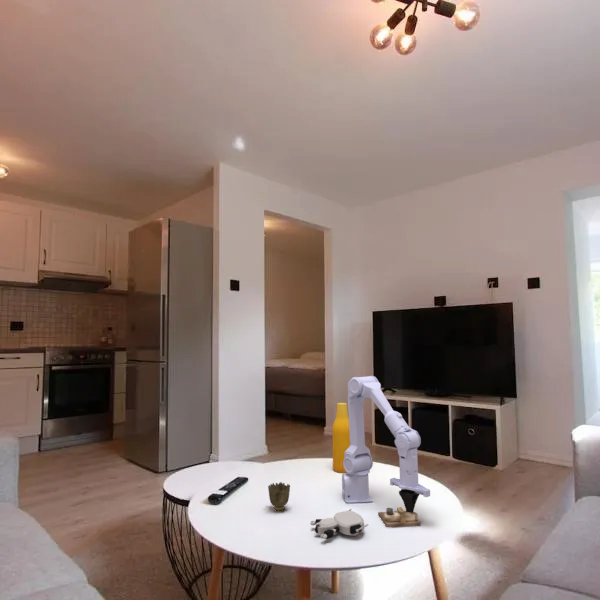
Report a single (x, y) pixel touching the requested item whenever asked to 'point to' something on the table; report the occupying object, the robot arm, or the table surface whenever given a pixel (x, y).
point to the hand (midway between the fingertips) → (410, 514)
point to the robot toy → (340, 524)
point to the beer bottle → (340, 437)
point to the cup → (279, 495)
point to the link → (396, 517)
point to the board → (397, 523)
